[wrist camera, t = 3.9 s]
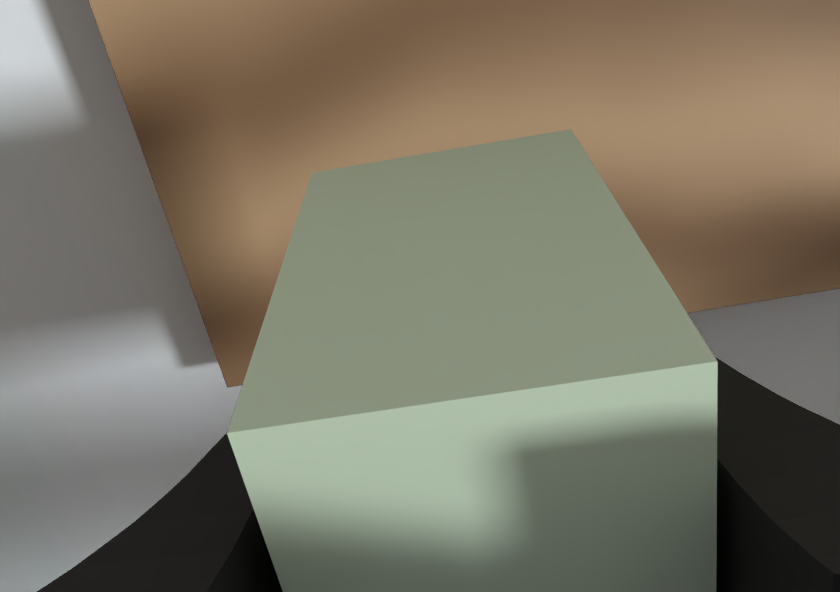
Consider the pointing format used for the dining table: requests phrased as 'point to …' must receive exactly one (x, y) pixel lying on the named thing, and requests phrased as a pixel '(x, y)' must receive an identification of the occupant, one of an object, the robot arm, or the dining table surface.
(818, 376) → the dining table surface
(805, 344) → the dining table surface
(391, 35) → the shelf board
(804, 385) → the dining table surface
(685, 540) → the sage carton
